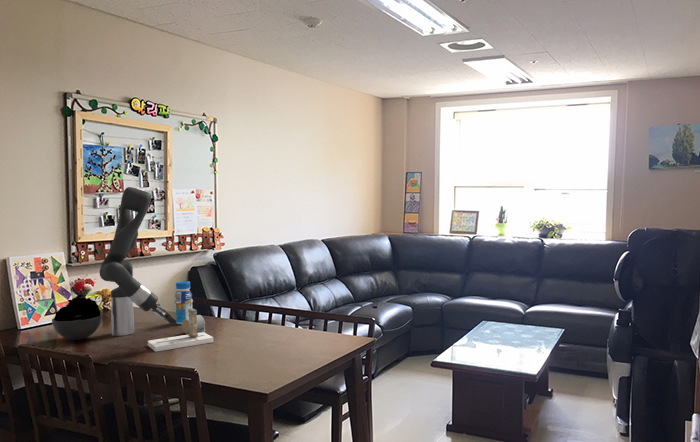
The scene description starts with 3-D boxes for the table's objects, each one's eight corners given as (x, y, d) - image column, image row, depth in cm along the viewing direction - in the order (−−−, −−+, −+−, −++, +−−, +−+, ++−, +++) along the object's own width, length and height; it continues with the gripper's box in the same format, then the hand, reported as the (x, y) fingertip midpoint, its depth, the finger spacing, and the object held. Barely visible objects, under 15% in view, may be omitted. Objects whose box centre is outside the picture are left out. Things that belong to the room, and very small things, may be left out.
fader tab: (192, 338, 243) (191, 310, 243) (187, 335, 249) (186, 308, 248) (199, 337, 245) (198, 310, 244) (194, 334, 250) (193, 307, 250)
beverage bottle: (174, 321, 288) (172, 281, 287) (191, 319, 291) (190, 280, 290) (177, 325, 280) (175, 283, 279) (194, 323, 284) (193, 282, 283)
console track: (155, 351, 232) (155, 346, 232) (147, 345, 243) (147, 340, 242) (213, 342, 245) (213, 337, 245) (204, 336, 255) (204, 331, 255)
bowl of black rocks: (83, 345, 245) (81, 301, 244) (42, 344, 249) (40, 300, 248) (112, 334, 264) (110, 293, 264) (73, 333, 268) (71, 292, 268)
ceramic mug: (181, 333, 263) (180, 316, 262) (196, 330, 269) (196, 313, 268) (194, 337, 256) (193, 320, 255) (210, 333, 262) (209, 316, 261)
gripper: (154, 292, 231) (185, 318, 238) (145, 288, 242) (176, 313, 249) (140, 307, 228) (173, 333, 236) (132, 302, 239) (164, 327, 247)
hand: (174, 323), depth 243 cm, fingers closed
